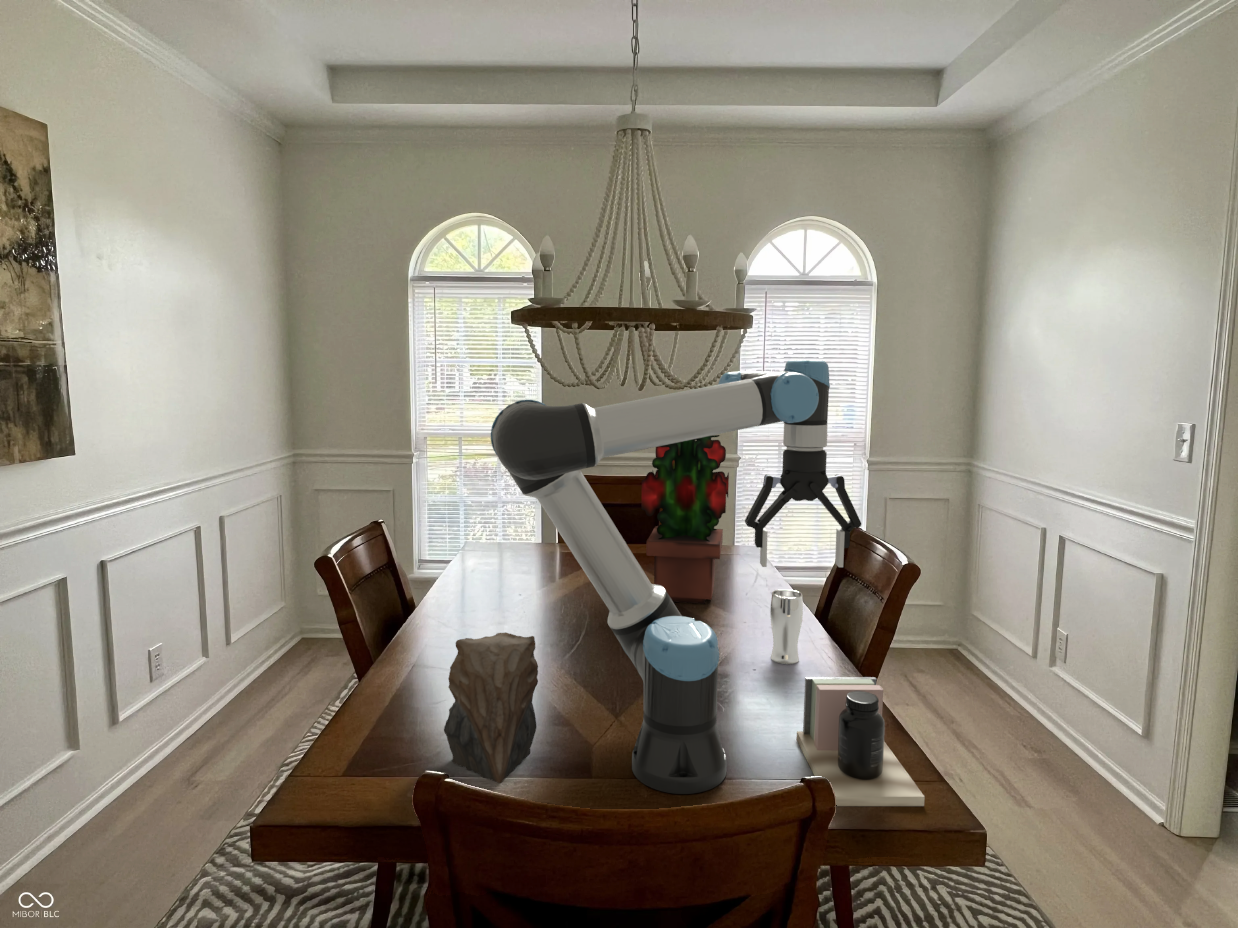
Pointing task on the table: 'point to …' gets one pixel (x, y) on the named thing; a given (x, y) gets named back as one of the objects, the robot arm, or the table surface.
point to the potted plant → (686, 516)
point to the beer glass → (786, 625)
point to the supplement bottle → (861, 737)
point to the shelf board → (849, 791)
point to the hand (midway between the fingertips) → (801, 565)
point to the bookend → (809, 694)
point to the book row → (834, 707)
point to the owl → (492, 704)
